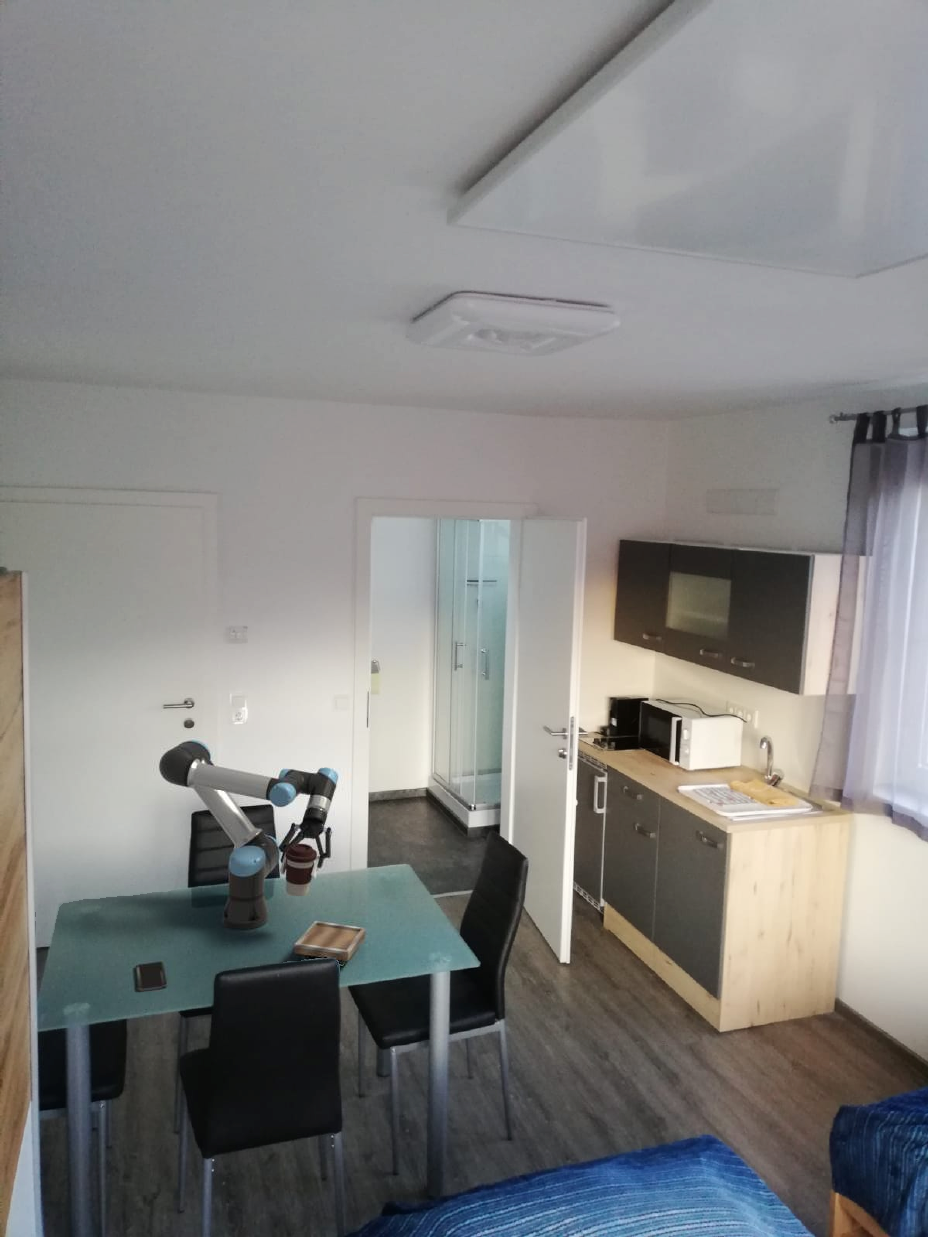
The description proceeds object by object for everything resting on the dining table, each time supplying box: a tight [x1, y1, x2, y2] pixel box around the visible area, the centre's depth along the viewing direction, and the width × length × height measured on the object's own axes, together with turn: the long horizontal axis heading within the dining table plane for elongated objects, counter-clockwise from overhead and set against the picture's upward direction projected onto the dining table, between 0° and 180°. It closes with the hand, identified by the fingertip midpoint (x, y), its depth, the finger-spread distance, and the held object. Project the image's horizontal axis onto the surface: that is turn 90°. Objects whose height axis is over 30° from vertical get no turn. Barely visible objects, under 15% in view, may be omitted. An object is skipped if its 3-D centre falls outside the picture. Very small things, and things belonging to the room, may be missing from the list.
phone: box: [135, 961, 168, 993], centre depth 258 cm, size 8×1×15 cm
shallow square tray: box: [293, 920, 367, 965], centre depth 277 cm, size 17×17×6 cm
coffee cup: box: [285, 843, 318, 897], centre depth 287 cm, size 10×10×15 cm
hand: (297, 874), depth 285 cm, fingers closed on coffee cup, 10 cm apart
